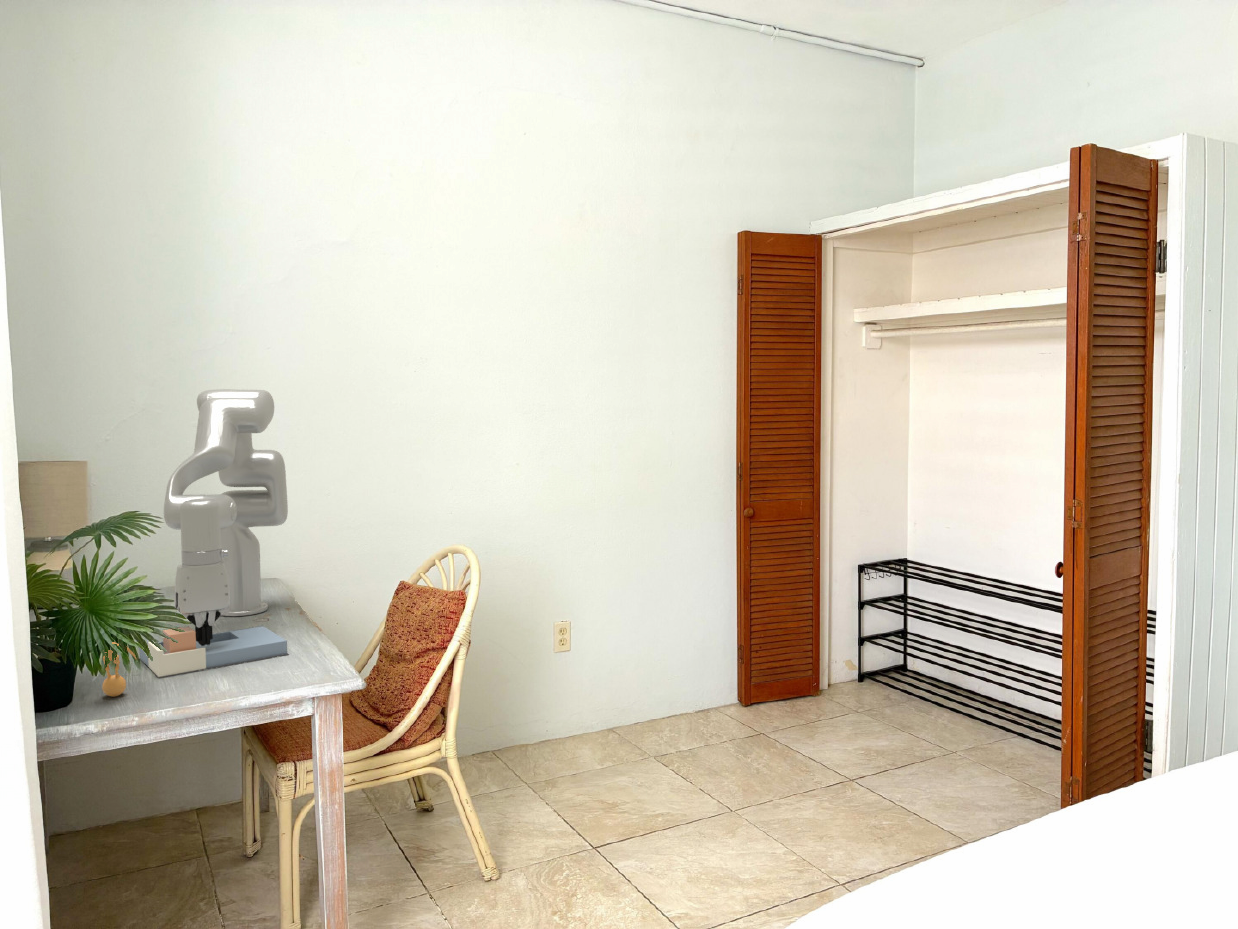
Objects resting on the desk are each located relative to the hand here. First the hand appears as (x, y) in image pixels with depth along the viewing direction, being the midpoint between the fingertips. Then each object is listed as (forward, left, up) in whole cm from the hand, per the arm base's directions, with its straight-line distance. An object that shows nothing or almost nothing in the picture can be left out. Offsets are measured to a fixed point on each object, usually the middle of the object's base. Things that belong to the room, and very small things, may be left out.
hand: (204, 643), depth 194 cm
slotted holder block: (-4, +3, -4) cm, 7 cm away
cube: (0, -5, -1) cm, 5 cm away
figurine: (+12, -19, -5) cm, 23 cm away
